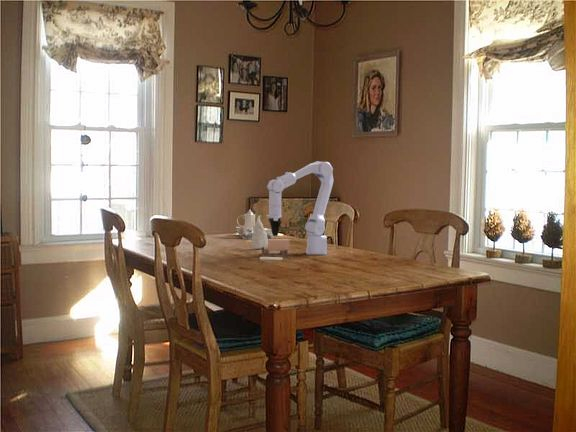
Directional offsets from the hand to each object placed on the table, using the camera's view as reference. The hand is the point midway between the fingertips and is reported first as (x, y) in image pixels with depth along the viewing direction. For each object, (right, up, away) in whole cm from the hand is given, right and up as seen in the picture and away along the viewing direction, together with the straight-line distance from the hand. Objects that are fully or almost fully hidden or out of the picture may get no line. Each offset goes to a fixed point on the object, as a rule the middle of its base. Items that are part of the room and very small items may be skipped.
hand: (274, 234), depth 321 cm
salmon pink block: (+2, -7, +1) cm, 7 cm away
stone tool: (-8, -8, +21) cm, 24 cm away
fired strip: (-1, -11, -9) cm, 15 cm away
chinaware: (-14, -4, +66) cm, 67 cm away
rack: (0, -10, +1) cm, 10 cm away
